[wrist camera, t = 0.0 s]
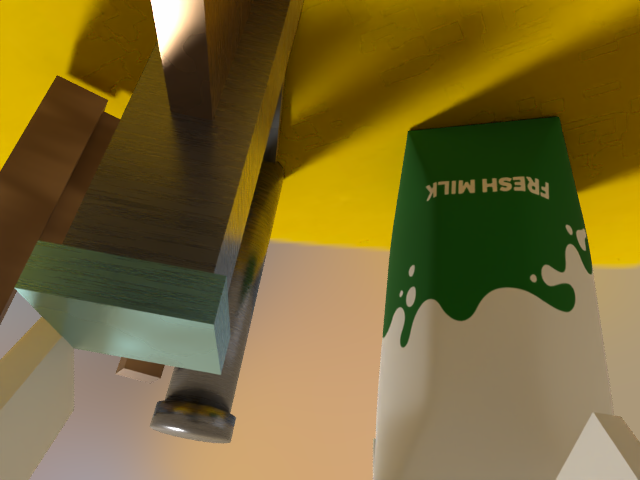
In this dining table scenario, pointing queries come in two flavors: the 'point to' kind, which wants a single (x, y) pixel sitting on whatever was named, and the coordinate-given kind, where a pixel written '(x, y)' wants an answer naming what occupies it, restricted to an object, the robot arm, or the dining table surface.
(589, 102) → the dining table surface
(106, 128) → the gate
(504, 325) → the milk carton
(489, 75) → the dining table surface
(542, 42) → the dining table surface
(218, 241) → the gate posts
